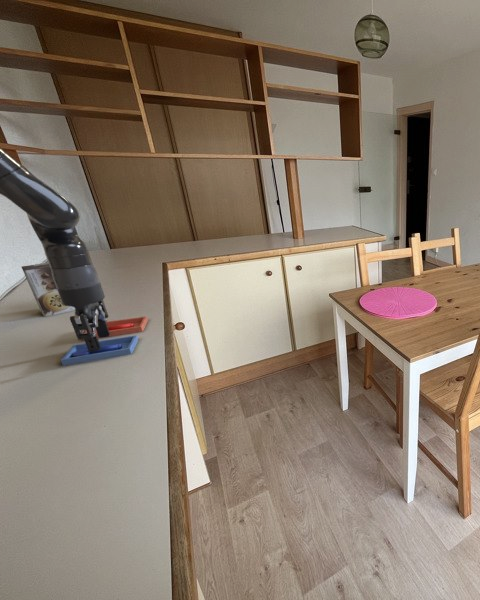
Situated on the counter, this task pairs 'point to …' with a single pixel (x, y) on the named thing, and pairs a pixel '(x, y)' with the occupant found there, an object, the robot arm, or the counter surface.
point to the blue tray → (126, 349)
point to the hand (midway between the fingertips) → (100, 342)
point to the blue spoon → (102, 349)
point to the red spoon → (120, 326)
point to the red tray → (138, 327)
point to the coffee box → (45, 289)
